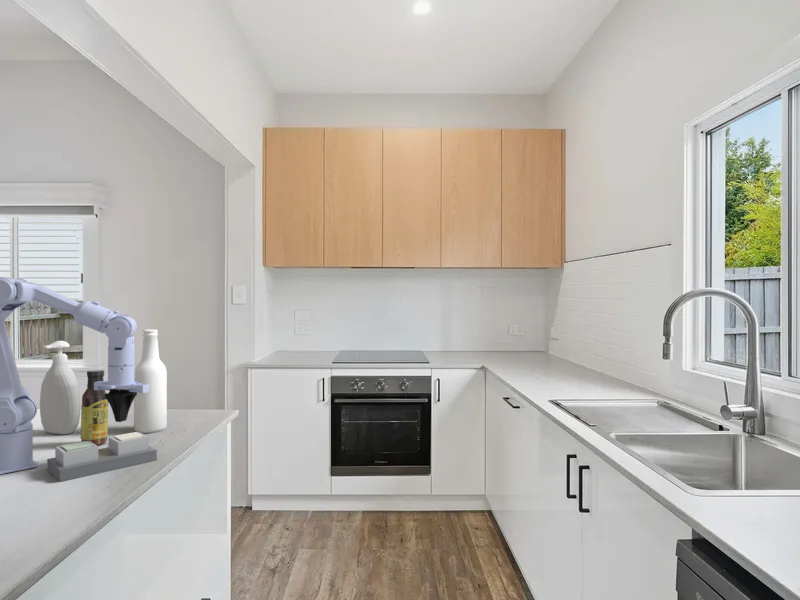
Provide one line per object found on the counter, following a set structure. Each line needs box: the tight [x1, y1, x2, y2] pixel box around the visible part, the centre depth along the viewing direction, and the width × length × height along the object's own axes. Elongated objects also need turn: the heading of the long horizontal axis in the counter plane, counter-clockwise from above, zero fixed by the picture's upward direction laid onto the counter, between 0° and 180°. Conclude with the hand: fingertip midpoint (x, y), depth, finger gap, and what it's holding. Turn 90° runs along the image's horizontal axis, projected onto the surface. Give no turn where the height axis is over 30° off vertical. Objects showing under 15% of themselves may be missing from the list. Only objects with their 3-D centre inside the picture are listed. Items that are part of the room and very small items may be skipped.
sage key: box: [60, 441, 93, 452], centre depth 116 cm, size 5×5×2 cm
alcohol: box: [133, 328, 168, 434], centre depth 151 cm, size 9×9×30 cm
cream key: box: [113, 431, 143, 442], centre depth 124 cm, size 5×5×2 cm
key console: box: [46, 432, 158, 483], centre depth 120 cm, size 11×20×6 cm, turn 137°
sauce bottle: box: [80, 369, 109, 446], centre depth 137 cm, size 7×6×20 cm
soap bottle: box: [39, 340, 81, 435], centre depth 148 cm, size 14×8×27 cm, turn 70°
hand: (120, 420), depth 123 cm, fingers closed
